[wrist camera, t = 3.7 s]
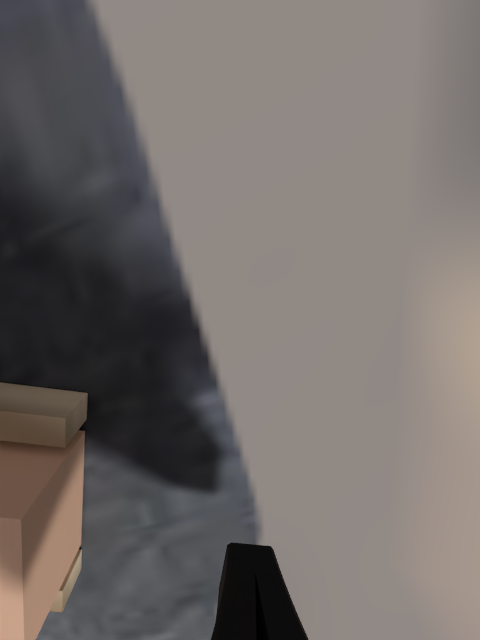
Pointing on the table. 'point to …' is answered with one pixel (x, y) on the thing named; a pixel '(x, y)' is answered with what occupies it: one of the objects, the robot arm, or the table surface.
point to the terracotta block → (37, 529)
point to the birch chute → (44, 436)
